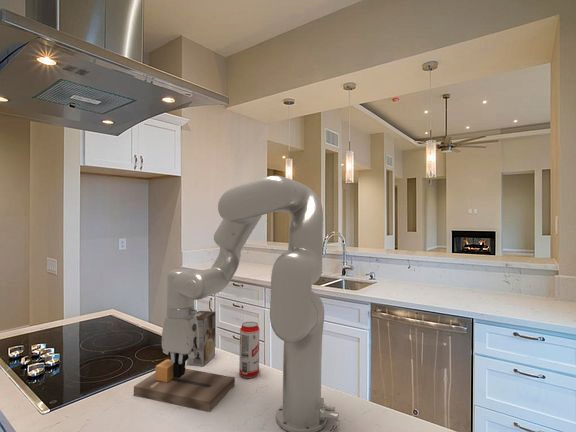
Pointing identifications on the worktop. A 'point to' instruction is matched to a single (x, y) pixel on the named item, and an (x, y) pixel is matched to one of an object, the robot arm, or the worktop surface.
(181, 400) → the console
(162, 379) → the block
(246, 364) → the beer can
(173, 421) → the worktop surface
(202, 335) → the coffee box
